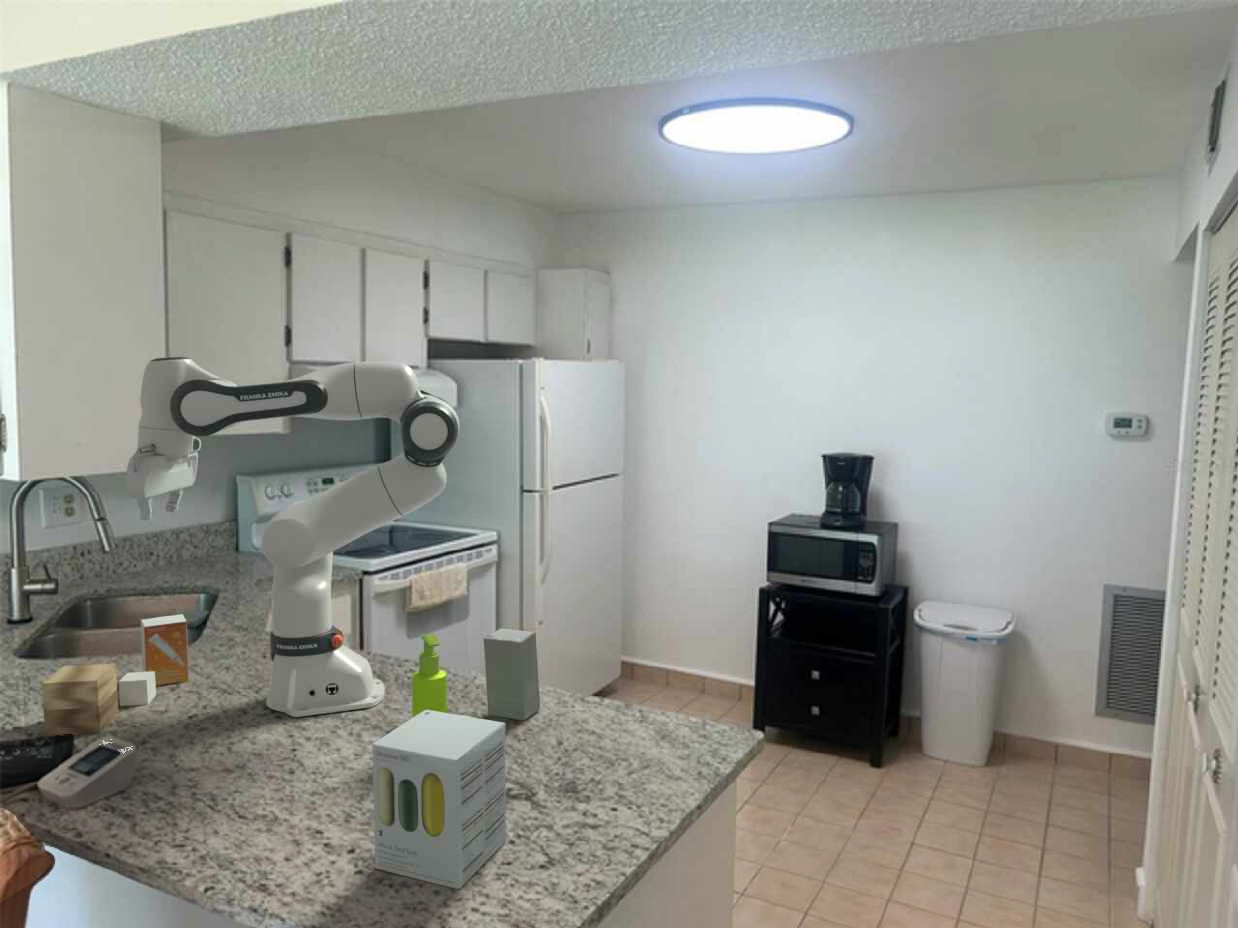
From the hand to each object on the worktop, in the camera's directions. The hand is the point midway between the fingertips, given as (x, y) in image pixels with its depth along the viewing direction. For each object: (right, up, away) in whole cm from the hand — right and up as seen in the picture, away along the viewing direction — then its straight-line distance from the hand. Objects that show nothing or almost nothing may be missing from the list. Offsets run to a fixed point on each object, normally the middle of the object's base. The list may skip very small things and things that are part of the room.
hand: (159, 515), depth 169 cm
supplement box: (+62, -44, -46) cm, 89 cm away
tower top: (-12, -34, -5) cm, 36 cm away
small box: (-8, -36, +19) cm, 41 cm away
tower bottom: (-12, -38, -4) cm, 40 cm away
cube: (-8, -37, +8) cm, 39 cm away
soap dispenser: (+54, -40, -13) cm, 68 cm away
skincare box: (+66, -38, +3) cm, 76 cm away
